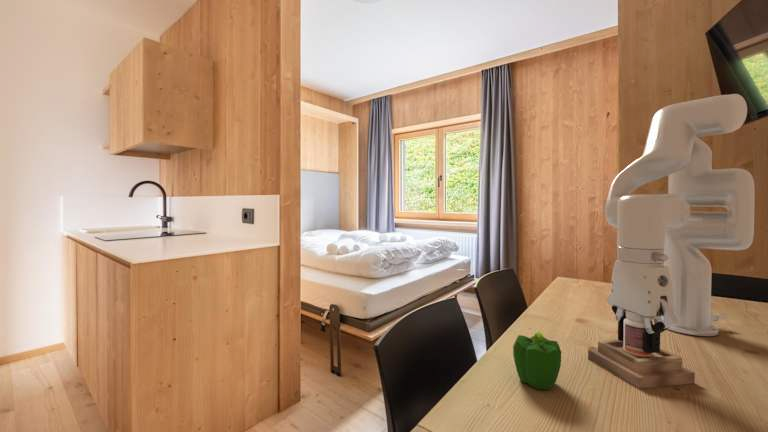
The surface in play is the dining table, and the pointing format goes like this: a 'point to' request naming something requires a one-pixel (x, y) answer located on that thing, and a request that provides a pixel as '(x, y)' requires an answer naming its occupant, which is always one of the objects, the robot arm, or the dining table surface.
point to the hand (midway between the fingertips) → (638, 345)
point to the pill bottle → (634, 334)
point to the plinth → (641, 366)
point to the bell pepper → (537, 360)
